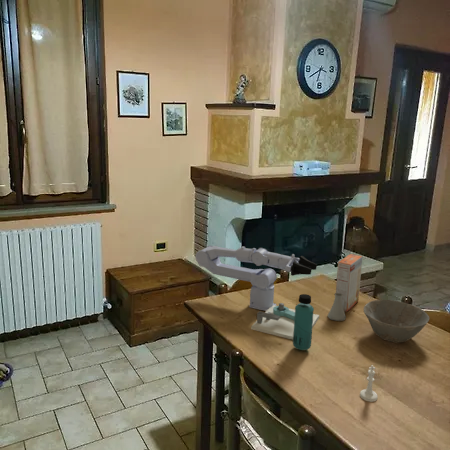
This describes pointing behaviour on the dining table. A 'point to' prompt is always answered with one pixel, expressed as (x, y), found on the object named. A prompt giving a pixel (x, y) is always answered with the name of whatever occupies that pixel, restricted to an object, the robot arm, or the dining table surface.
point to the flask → (337, 309)
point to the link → (284, 312)
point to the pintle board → (277, 323)
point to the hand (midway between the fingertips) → (313, 269)
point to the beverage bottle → (303, 323)
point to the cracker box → (349, 280)
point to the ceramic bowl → (395, 319)
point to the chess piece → (369, 387)
